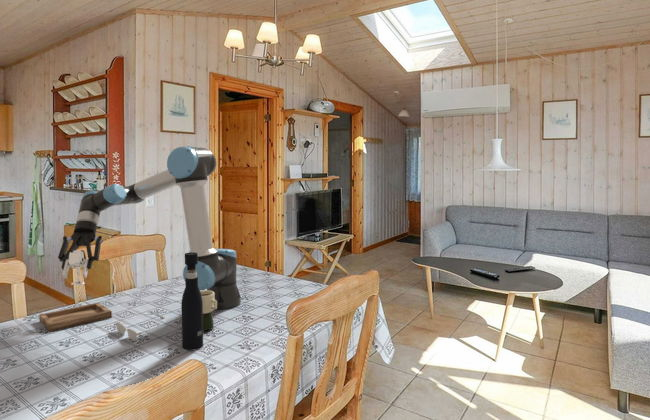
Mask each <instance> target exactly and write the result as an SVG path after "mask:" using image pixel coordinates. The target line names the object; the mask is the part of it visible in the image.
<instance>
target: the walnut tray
mask: <svg viewBox="0 0 650 420" xmlns="http://www.w3.org/2000/svg"><path fill="white" fill-rule="evenodd" d="M112 313H113V312H112V310H111V309H109V308H108V307H106V306H105V305H103V304H101V303H100V302H94V303H90V304H86V305H85V304H84V305H81V306H76V307H75V306H74V307H70V308H66V309H61V310H56V311H49V312H46V313H40V314H39V322H40V323H41V324H42V325H43V326H44V327H45V328H46V330H47V331H49V332H50V333H52V332H56V331H60V330H64V329H69V328H72V327H74V328H75V327H77V326H82V325H86V324H91V323H96V322H99V321H104V320H107V319H111V318H112V317H113V314H112Z"/></svg>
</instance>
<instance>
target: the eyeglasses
mask: <svg viewBox="0 0 650 420" xmlns="http://www.w3.org/2000/svg"><path fill="white" fill-rule="evenodd" d="M149 315H151V316H152V315H153V316H157V317H158V318H160V319H161V320H163V319H166V317H165V316H163V315H160V314H156V313H147V314H143V315H142V317H144V316H149ZM139 317H141V315H139V316H136V317H132V318H131V320H132V319H136V318H139ZM128 320H130V318H128V319H124V320H122V321H120V320H119V321H117V322H115V324H116V328H117V332H118V333H119V334H122V336H124V335H125V333H126V332H127V336H128V339H130V340H131V341H133V342H136V340H137V336H139V335H142V334H144V333H147V332H151V331H155V330H157V329H161V328H163V327H164V328H165V327H167V326H170V325H177V326H179V327H180V328H181V329H182V324H180V323H169V324H165V325H163V326H161V327H157V328H153V329H150V330H146V331H143V332H136V331H135V330H133V329H132V328H128V327H125V325H124V324H122V322H125V321H128Z"/></svg>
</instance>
